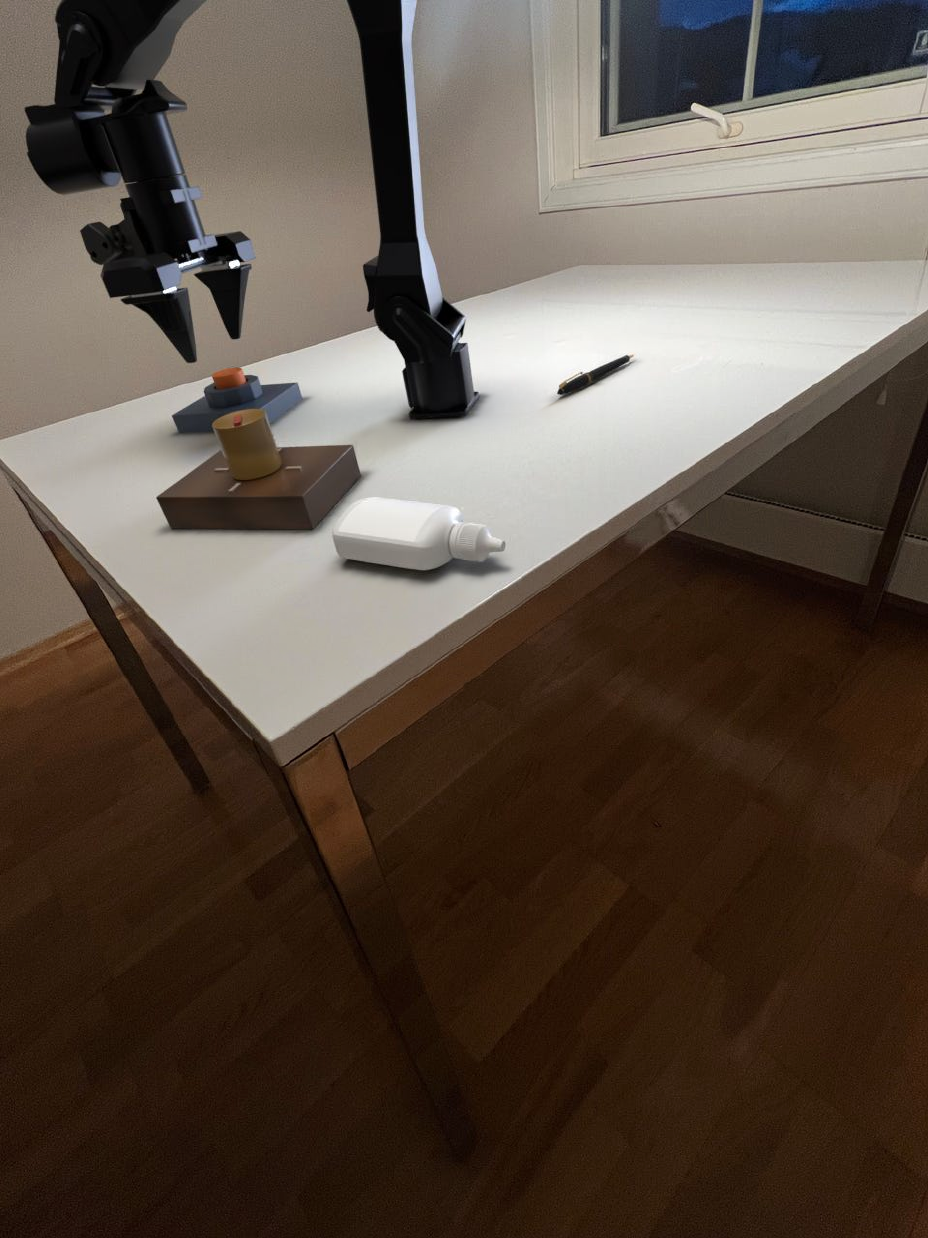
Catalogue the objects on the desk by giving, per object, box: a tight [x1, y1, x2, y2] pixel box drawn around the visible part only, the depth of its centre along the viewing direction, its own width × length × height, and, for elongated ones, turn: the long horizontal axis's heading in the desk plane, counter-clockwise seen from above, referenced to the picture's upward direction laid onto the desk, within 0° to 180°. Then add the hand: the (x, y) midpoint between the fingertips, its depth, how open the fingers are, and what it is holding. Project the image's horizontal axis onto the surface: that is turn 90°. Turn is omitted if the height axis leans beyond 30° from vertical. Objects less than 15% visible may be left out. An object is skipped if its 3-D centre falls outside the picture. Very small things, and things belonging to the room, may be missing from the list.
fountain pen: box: [556, 353, 635, 396], centre depth 70 cm, size 14×1×2 cm, turn 134°
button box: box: [171, 374, 303, 434], centre depth 77 cm, size 12×10×4 cm
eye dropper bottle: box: [331, 496, 506, 571], centre depth 43 cm, size 4×6×12 cm
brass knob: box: [212, 409, 282, 480], centre depth 53 cm, size 4×4×5 cm
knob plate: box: [155, 444, 362, 530], centre depth 55 cm, size 14×10×3 cm
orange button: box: [211, 367, 246, 390], centre depth 76 cm, size 4×4×2 cm
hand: (215, 350), depth 70 cm, fingers open, 9 cm apart
